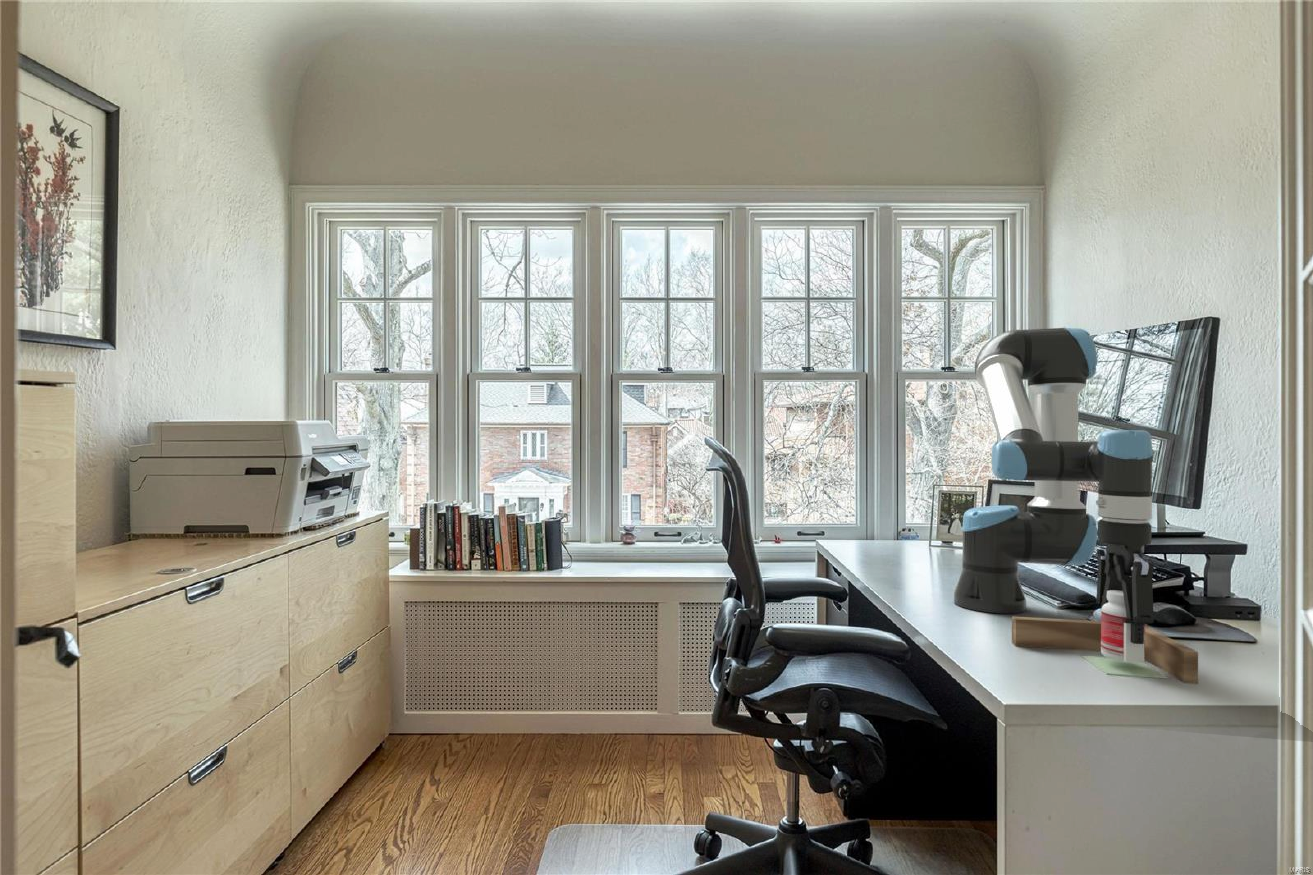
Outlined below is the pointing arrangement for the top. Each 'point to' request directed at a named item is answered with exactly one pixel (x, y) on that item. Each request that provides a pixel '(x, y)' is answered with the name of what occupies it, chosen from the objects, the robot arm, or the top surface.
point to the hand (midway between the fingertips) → (1122, 655)
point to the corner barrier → (1088, 637)
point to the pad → (1123, 667)
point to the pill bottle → (1114, 626)
